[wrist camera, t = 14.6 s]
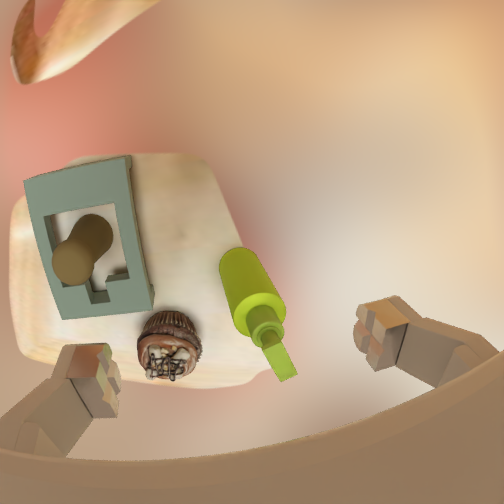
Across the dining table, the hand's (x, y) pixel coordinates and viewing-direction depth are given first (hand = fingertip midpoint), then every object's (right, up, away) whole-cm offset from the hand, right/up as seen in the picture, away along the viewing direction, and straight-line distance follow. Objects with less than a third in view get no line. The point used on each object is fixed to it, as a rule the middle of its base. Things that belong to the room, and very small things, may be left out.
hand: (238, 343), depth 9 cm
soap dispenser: (-1, 0, +36) cm, 36 cm away
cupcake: (-13, -9, +38) cm, 41 cm away
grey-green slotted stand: (-21, +5, +30) cm, 37 cm away
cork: (-21, +5, +30) cm, 37 cm away
